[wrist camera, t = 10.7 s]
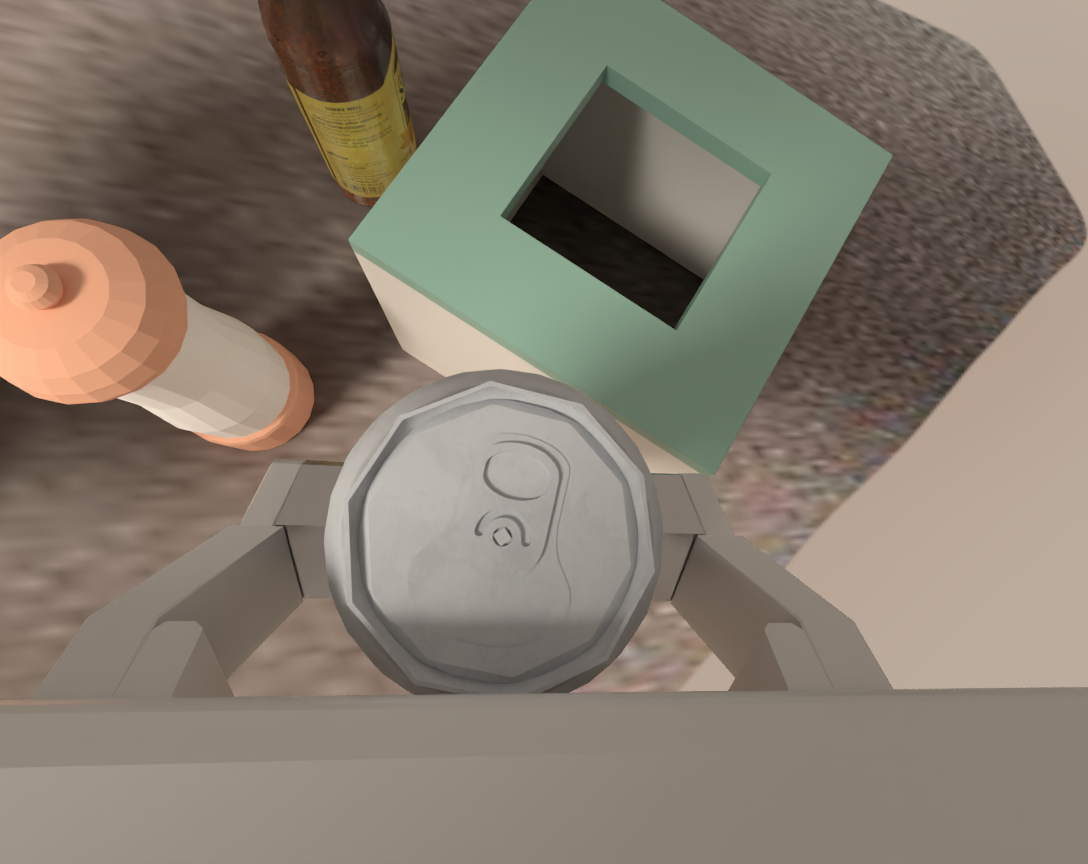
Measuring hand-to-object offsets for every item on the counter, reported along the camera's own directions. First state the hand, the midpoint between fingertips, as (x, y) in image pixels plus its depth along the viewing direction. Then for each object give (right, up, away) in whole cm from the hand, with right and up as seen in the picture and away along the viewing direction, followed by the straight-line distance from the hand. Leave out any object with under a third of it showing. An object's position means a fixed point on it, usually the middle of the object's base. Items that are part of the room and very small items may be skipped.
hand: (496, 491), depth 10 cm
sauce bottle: (-11, +20, +29) cm, 37 cm away
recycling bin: (+3, +10, +29) cm, 31 cm away
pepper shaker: (-18, +3, +26) cm, 32 cm away
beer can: (-1, -2, +8) cm, 9 cm away
